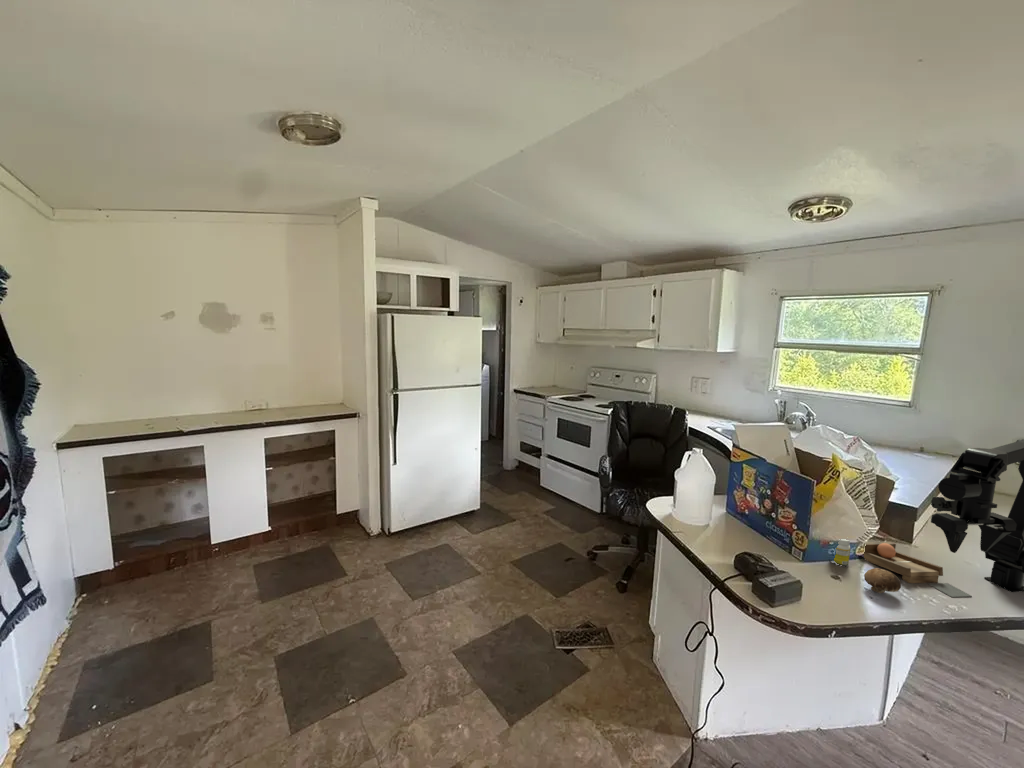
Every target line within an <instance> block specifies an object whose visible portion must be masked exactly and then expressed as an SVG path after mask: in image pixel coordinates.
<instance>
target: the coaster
mask: <svg viewBox="0 0 1024 768" xmlns="http://www.w3.org/2000/svg"><path fill="white" fill-rule="evenodd" d="M927 585H928V586H930V587H932V588H933V589H935V590H938V591H940V592H941V593H942V594H944V595H946V596H948V597H950V598H972V597H973V596H972V595H971V594H970V593H967V592H966V591H964V590H961V589H960V588H958V587H956V586H954V585H952V584H950V583H948V582H937V583H927Z"/></svg>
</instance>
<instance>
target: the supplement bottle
mask: <svg viewBox="0 0 1024 768" xmlns="http://www.w3.org/2000/svg"><path fill="white" fill-rule="evenodd" d="M850 541H851V540H846V539H841V540H840V539H839V542H838V544H839V545H838V546H837V548H836V555H835V558H834V561H835V562H836V563H837V564H839V565H842V566H848V567H849V563H850V555H851V545H850V544H851V542H850Z"/></svg>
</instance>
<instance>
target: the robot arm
mask: <svg viewBox="0 0 1024 768" xmlns="http://www.w3.org/2000/svg"><path fill="white" fill-rule="evenodd" d="M1016 463H1018V464H1019V465H1018V468H1017V469H1018V470H1017V471H1018V472H1019V475H1020V477H1021V479H1022V481H1021V484H1020V486H1019V488H1018V491H1017V494H1016V497H1014V498H1015V499H1014V501H1013V503H1012V505H1011V508H1010V511H1009V513H1008V515H1007V516H1004V515H1003V514H999V513H996V512H992V509H997V508H998V504H997V503H994V497H995V489H996V485H997V482H1001V478H1000V476H1001V475H1002V473H1004V472H1006V471H1007V470H1008V466H1010V465H1013V464H1016ZM937 487H938V490H939V492H940V494H941V495H942V496H932V499H931V500H930V501H931V502H930V505H931V507H932V508H933V509H936V513H934V514H932V515H931V518H930V523H931V524H933V525H934V526H935V527H938V528H940V530H941V531H942V532H943V533H944V536H945V538H946V543H947V545H948V549H949V551H950V552H952V553H954V554H956V553H957V552H958V550H959V549H960V547H961V545H962V543H963V542H964V540H965V538H966V537H967V535H968V532H966V531H967V530H968V528H969V526H978V528H979V529H980V543H979V545H980V547H979V548H980V551H981V552H983V553H984V555H985V556H984V558H985V559H987V560H991V561H993V565H992V568H991V572H990V573H991V574H990V576H985V577H983V579H984V580H986V581H988V582H990V583H992V584H993V583H994V585H995V584H996V585H995V586H998V587H1000V588H1002V589H1004V590H1006V591H1007V592H1010V591H1011V592H1013V593H1014V592H1015V593H1017V592H1019V591H1022V592H1024V438H1022V439H1020V438H1019V439H1017V440H1016V441H1014V442H1010V443H1008V444H1004V445H1000V446H997V447H993V448H983V447H982V448H981V447H969V448H967V449H965V450H964V451H963V452H962V453H961V454H960V456H959V457H958V459H957V460H956V462H955V463H954V465H953V466H952V468H951V469H950V473H949V477H944V478H943V479H942V480H940V481H939V483H938V486H937ZM944 497H945V498H946V499H945V498H944ZM938 512H939V513H938ZM940 512H941V513H940ZM942 512H945V513H942ZM946 512H950V513H946ZM957 516H958V517H957ZM1011 592H1010V593H1011Z"/></svg>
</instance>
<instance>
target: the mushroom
mask: <svg viewBox="0 0 1024 768" xmlns="http://www.w3.org/2000/svg"><path fill="white" fill-rule="evenodd" d="M863 577H864V578H863V579H864V581H865V582H866V583H867V584H868V585H869V586H871V587H870V589H871V590H872V591H874V593H875V592H876V593H878V594H884V593H885V592H888V593H889V592H890V593H891V592H892V593H894V592H895V593H897V592H898V591H900V590H901V588H902V582H901V580H900V578H899V577H898V576H897V575H896V574H894V573H893V572H891V571H890V570H888V569H885V568H879V567H874V568H871V569H868V570H867V571H865V573H863Z"/></svg>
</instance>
